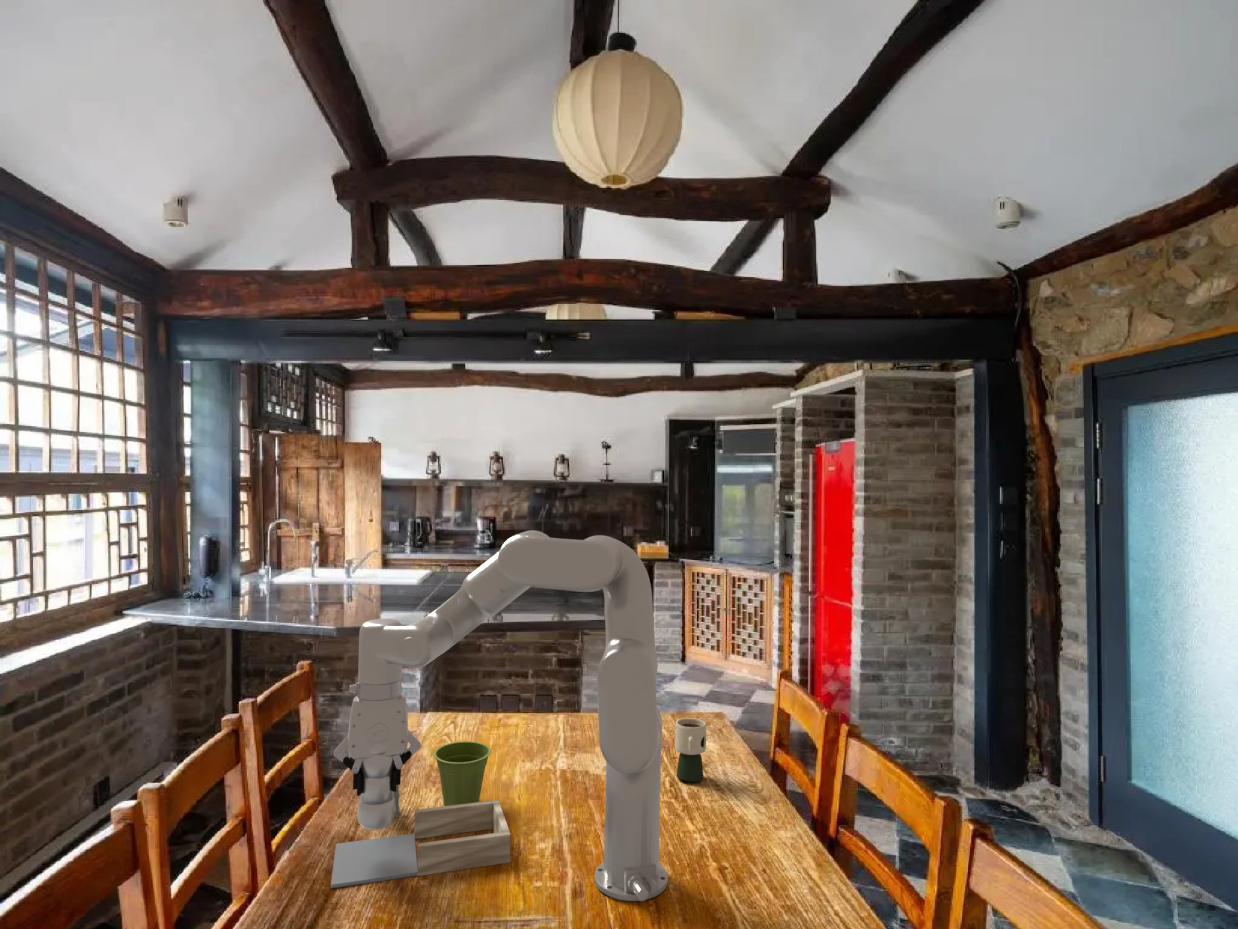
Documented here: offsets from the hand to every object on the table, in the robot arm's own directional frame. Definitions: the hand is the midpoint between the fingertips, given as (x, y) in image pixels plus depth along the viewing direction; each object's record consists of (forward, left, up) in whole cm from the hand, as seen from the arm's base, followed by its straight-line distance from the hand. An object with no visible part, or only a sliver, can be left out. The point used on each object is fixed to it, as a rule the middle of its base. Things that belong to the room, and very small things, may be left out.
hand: (376, 789), depth 129 cm
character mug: (+17, -69, -13) cm, 72 cm away
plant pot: (+18, -17, -13) cm, 28 cm away
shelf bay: (0, -15, -13) cm, 20 cm away
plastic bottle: (0, 0, -7) cm, 7 cm away
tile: (0, 0, -13) cm, 13 cm away
